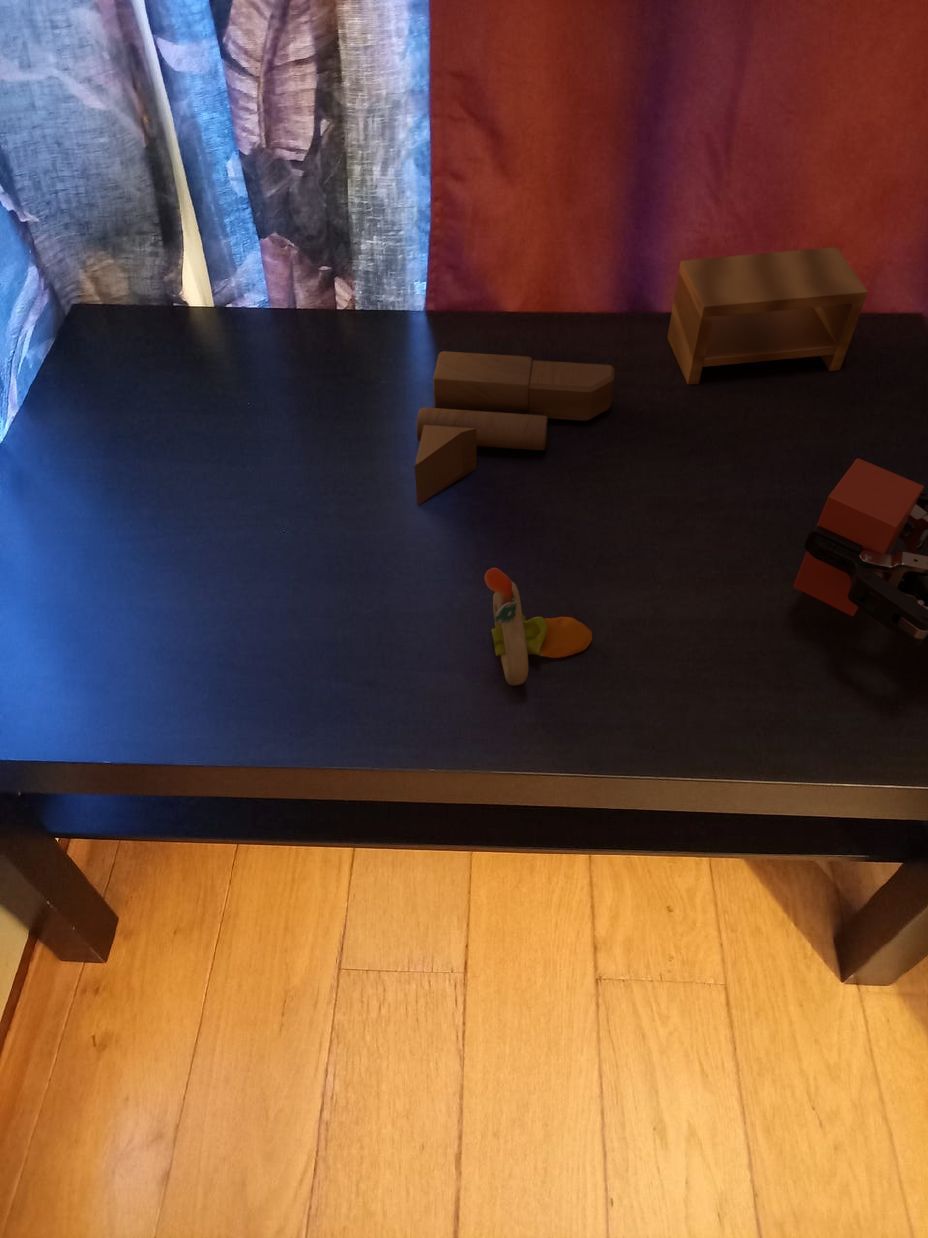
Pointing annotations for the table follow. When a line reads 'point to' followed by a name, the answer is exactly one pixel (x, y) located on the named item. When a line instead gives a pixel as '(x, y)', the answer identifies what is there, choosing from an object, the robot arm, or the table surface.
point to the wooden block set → (499, 409)
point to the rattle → (528, 631)
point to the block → (859, 526)
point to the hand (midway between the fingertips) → (826, 514)
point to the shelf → (764, 309)
